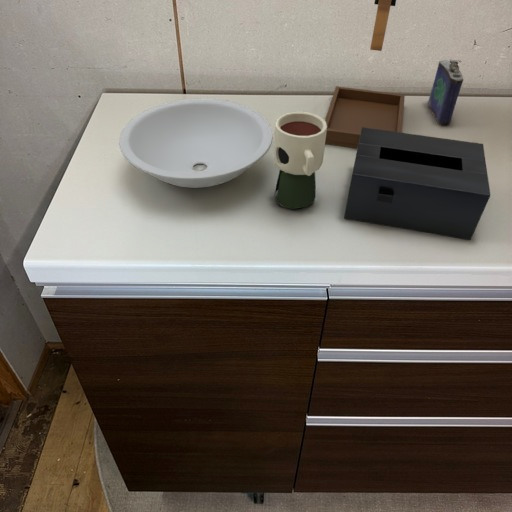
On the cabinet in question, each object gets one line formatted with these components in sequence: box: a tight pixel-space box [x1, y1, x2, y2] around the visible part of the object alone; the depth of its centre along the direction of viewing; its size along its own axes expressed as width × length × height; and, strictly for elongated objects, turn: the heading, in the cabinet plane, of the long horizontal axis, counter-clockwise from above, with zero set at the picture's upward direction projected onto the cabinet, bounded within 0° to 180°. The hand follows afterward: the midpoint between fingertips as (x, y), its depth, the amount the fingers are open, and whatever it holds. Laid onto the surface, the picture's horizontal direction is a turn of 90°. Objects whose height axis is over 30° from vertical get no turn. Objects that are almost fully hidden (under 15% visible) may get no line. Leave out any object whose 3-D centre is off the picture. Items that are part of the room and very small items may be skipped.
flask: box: [427, 59, 464, 127], centre depth 89 cm, size 9×3×11 cm, turn 1°
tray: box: [324, 85, 406, 149], centre depth 89 cm, size 18×14×3 cm
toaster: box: [343, 127, 492, 241], centre depth 70 cm, size 18×14×8 cm
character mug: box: [273, 111, 327, 210], centre depth 69 cm, size 11×7×13 cm, turn 12°
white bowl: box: [118, 97, 274, 189], centre depth 77 cm, size 24×24×7 cm
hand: (385, 2), depth 75 cm, fingers closed on toast, 2 cm apart
